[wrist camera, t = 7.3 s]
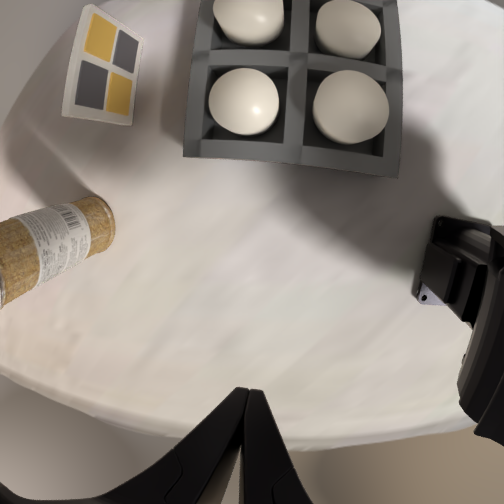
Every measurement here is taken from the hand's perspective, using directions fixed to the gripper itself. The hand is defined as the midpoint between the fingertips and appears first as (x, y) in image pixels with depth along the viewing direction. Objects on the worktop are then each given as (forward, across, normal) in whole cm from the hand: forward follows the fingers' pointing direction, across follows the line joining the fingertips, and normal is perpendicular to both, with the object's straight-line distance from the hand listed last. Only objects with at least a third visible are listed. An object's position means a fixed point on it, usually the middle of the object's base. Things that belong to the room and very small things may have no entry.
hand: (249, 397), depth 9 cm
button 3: (+11, +2, -10) cm, 15 cm away
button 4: (+9, +2, -16) cm, 18 cm away
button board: (+12, 0, -13) cm, 18 cm away
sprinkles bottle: (+12, +14, -2) cm, 19 cm away
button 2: (+11, -3, -16) cm, 19 cm away
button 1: (+9, -3, -10) cm, 14 cm away
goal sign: (+12, +11, -13) cm, 21 cm away
